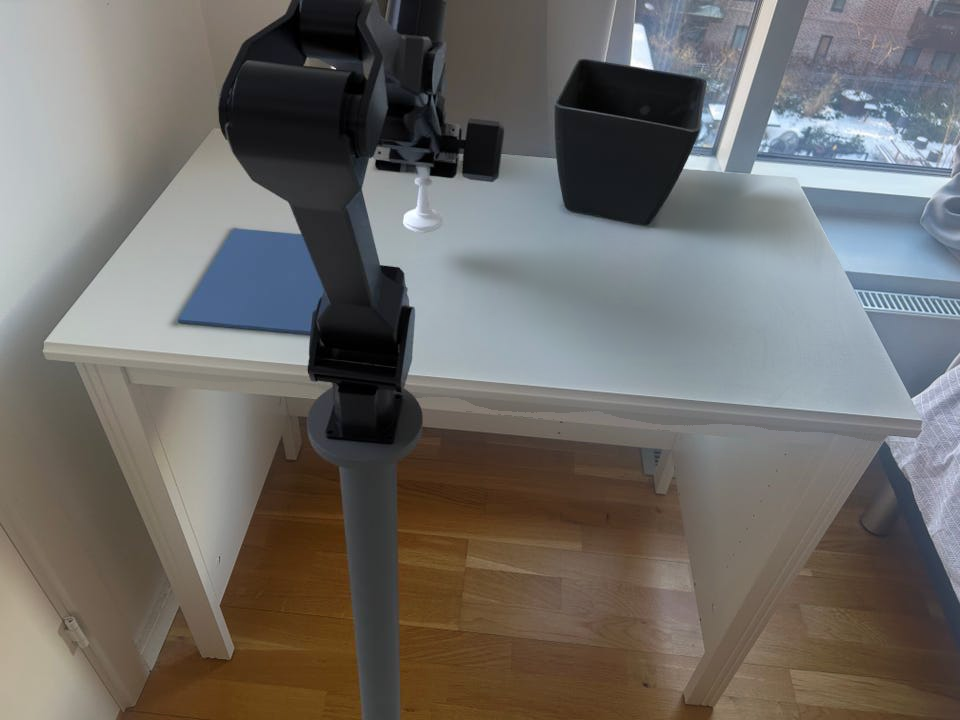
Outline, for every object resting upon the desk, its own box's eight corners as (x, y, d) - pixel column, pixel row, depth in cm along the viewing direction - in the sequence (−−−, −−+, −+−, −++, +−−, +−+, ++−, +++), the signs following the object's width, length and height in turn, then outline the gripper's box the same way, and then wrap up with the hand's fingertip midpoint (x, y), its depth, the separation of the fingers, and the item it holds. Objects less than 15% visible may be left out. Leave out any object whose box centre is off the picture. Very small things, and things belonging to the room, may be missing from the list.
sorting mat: (318, 335, 84) (318, 332, 83) (178, 322, 84) (177, 319, 84) (353, 242, 99) (353, 238, 99) (234, 231, 99) (233, 228, 99)
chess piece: (449, 227, 92) (452, 151, 86) (415, 236, 90) (415, 159, 84) (430, 209, 95) (431, 135, 89) (396, 218, 93) (395, 142, 87)
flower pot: (670, 243, 104) (701, 128, 93) (538, 217, 107) (553, 103, 96) (680, 184, 118) (707, 77, 107) (563, 162, 121) (578, 57, 110)
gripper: (510, 48, 74) (510, 113, 90) (328, 29, 75) (359, 97, 91) (496, 155, 73) (498, 202, 89) (312, 134, 74) (346, 185, 90)
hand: (425, 169), depth 90 cm, fingers closed on chess piece
